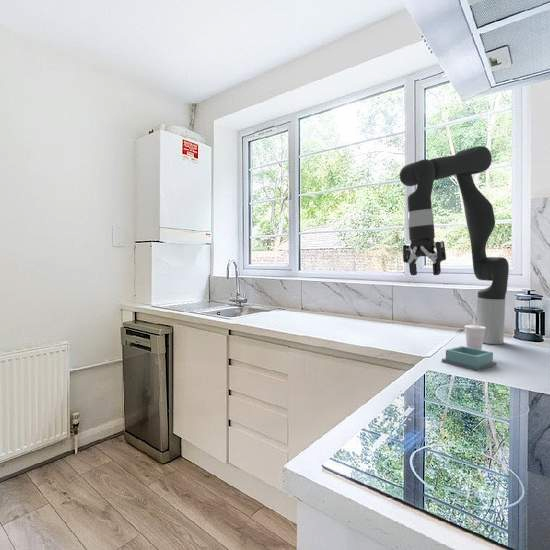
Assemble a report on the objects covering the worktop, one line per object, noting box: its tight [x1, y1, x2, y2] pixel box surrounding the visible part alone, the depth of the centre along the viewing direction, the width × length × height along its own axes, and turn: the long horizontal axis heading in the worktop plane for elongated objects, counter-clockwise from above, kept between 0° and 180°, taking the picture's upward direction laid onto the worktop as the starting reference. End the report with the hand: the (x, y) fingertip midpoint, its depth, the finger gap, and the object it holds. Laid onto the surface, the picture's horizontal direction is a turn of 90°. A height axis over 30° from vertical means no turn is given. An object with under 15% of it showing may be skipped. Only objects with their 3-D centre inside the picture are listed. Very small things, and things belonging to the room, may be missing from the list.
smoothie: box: [463, 313, 486, 350], centre depth 117 cm, size 6×6×14 cm
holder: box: [441, 345, 497, 372], centre depth 108 cm, size 11×11×4 cm
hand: (424, 275), depth 113 cm, fingers open, 8 cm apart
